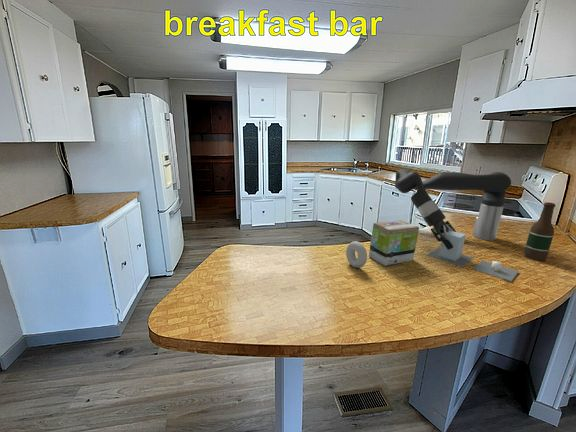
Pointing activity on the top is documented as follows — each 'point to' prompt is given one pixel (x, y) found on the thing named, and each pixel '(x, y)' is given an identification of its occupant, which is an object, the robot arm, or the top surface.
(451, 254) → the light gray block
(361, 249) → the donut
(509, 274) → the gray plate with knob
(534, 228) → the beer bottle
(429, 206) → the robot arm
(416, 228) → the tea box
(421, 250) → the top surface
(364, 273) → the top surface
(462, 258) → the mat
